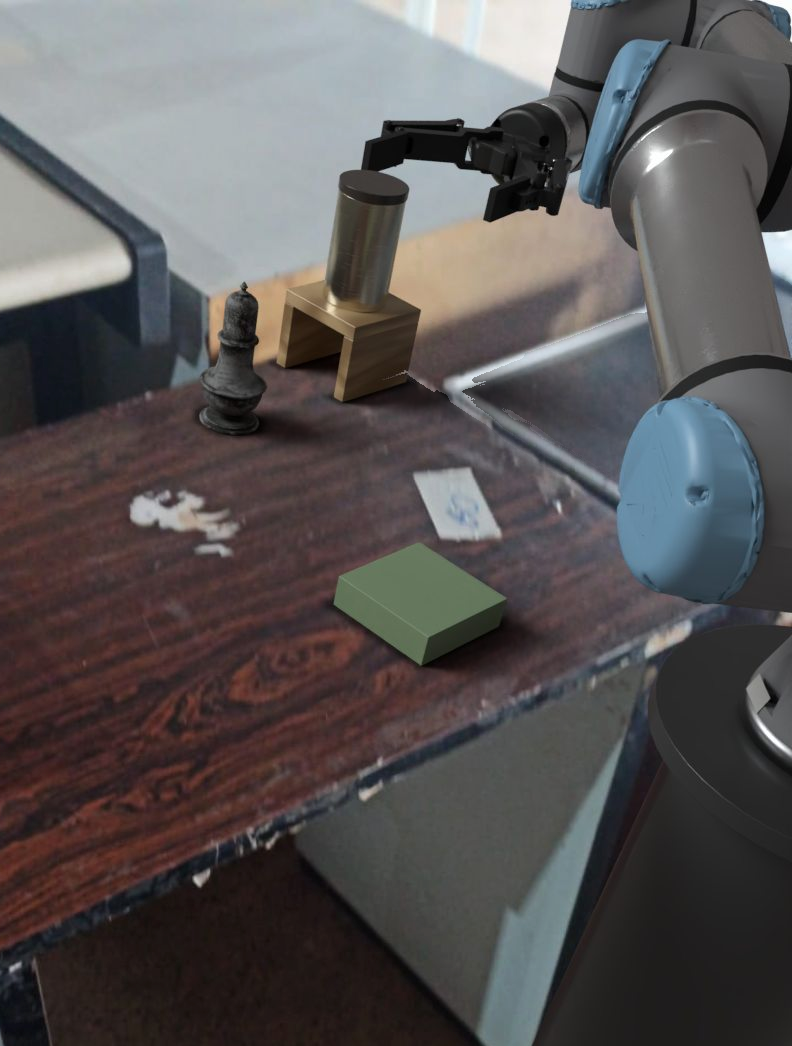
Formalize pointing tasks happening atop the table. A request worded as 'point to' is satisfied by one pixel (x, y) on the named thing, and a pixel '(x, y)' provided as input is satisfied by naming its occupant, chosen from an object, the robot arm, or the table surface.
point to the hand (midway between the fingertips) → (426, 181)
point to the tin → (364, 240)
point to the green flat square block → (419, 602)
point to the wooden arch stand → (349, 339)
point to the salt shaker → (234, 370)
